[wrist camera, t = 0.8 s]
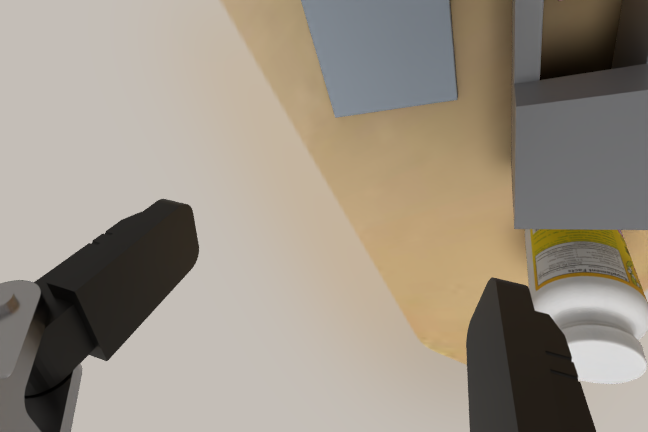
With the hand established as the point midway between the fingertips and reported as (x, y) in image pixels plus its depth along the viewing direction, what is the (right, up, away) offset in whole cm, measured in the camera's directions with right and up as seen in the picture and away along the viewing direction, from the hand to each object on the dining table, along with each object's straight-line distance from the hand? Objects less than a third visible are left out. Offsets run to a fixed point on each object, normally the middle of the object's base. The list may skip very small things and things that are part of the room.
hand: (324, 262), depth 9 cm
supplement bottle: (+21, 0, +21) cm, 30 cm away
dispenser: (+16, +12, +13) cm, 24 cm away
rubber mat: (+3, +16, +15) cm, 23 cm away
